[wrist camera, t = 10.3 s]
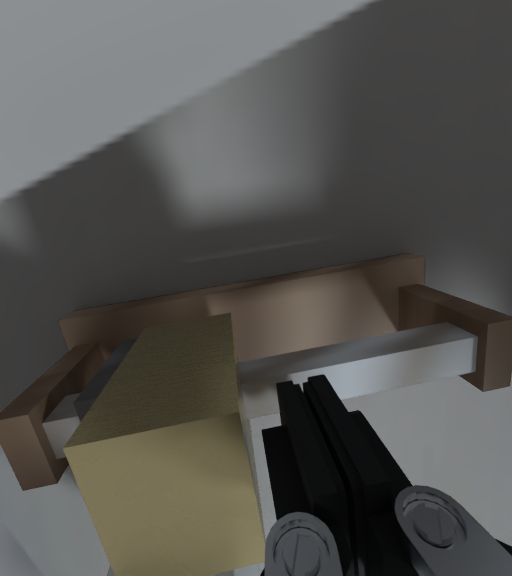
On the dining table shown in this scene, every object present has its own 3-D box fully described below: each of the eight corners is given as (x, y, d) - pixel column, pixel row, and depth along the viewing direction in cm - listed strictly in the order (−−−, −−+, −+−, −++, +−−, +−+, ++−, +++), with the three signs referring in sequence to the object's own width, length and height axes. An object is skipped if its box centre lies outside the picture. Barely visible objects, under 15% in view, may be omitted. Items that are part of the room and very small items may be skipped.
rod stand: (408, 253, 17) (562, 285, 10) (408, 341, 19) (540, 432, 11) (72, 311, 16) (-74, 406, 8) (103, 401, 18) (7, 554, 10)
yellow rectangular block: (230, 312, 13) (239, 412, 7) (247, 402, 15) (268, 560, 8) (144, 327, 13) (62, 448, 6) (169, 417, 14) (123, 596, 8)
